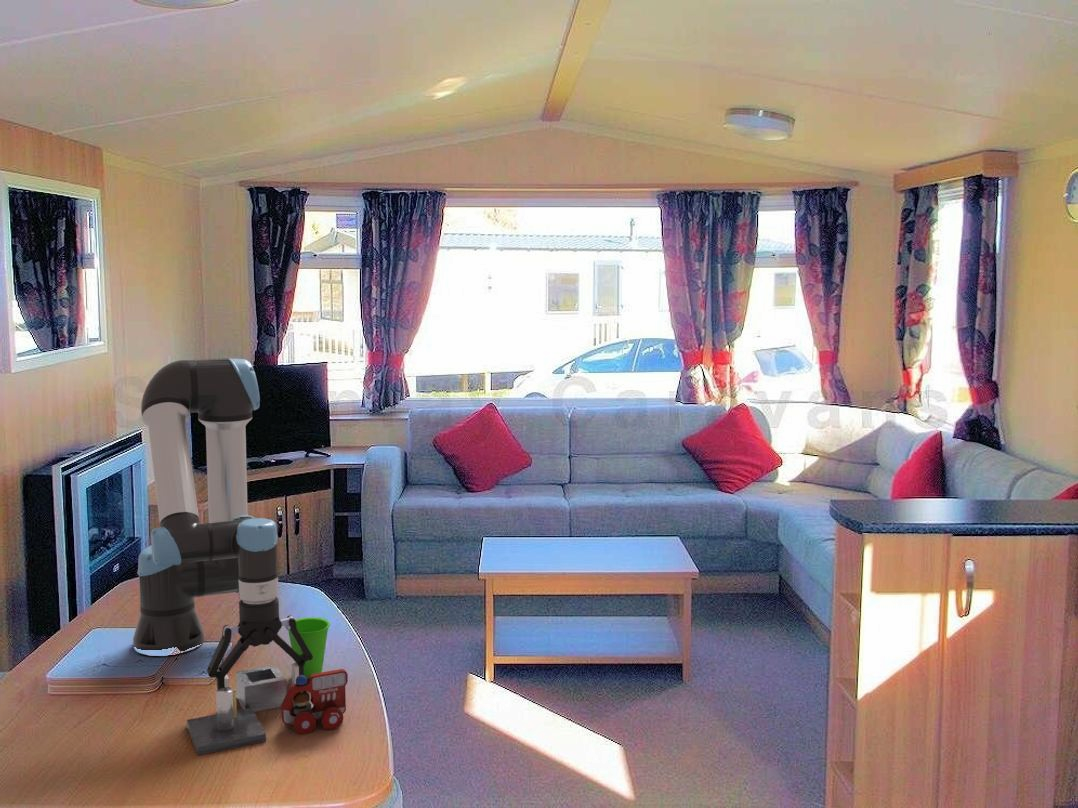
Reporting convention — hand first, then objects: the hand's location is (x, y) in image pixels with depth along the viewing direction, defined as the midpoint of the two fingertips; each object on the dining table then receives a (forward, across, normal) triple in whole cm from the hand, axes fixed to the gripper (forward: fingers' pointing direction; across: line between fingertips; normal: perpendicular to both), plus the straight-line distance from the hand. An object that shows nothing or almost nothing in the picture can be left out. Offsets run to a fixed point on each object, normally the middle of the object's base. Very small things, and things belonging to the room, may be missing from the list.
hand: (261, 701), depth 203 cm
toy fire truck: (0, +7, -14) cm, 16 cm away
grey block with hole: (0, 0, 0) cm, 0 cm away
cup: (0, +12, +9) cm, 15 cm away
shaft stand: (0, -9, -11) cm, 14 cm away
